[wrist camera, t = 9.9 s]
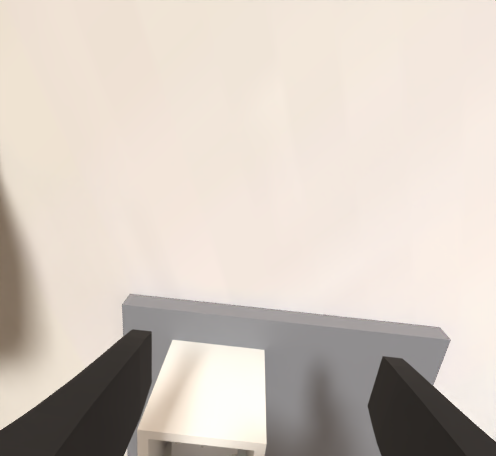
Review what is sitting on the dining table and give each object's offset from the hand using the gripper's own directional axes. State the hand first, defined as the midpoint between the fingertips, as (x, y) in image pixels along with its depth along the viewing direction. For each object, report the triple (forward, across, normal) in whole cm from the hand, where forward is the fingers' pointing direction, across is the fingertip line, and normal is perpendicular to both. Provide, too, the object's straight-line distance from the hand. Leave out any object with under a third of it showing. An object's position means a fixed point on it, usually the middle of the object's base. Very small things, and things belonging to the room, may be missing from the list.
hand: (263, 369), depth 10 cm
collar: (+8, +2, +9) cm, 12 cm away
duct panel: (+9, -2, +12) cm, 15 cm away
